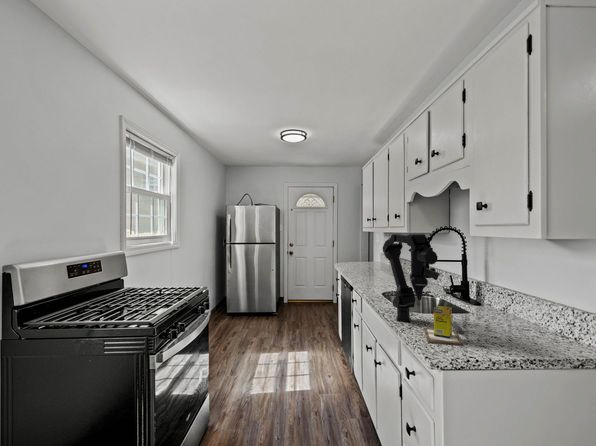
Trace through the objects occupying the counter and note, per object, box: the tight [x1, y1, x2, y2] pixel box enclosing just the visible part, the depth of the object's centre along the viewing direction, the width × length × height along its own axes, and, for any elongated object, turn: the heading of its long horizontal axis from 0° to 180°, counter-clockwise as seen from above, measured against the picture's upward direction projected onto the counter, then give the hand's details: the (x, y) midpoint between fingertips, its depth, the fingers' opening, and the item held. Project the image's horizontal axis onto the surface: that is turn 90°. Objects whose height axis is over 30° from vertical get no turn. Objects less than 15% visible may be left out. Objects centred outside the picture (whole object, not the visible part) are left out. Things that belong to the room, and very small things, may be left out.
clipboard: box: [423, 326, 463, 346], centre depth 130 cm, size 16×12×2 cm
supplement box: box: [433, 305, 453, 338], centre depth 130 cm, size 6×6×11 cm
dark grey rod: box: [452, 321, 464, 335], centre depth 140 cm, size 13×2×2 cm, turn 164°
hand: (418, 298), depth 142 cm, fingers open, 9 cm apart
